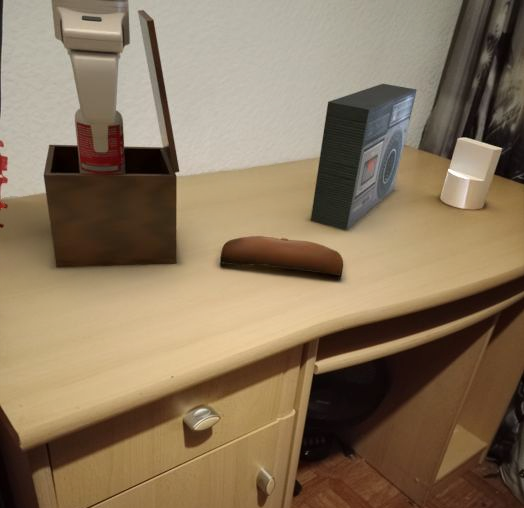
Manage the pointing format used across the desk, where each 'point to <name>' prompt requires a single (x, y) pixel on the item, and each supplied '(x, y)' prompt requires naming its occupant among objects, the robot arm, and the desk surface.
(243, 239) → the sunglasses case
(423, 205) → the desk surface
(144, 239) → the box
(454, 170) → the base with upright slab
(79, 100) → the robot arm
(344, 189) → the cassette player
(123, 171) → the pill bottle
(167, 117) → the box lid
